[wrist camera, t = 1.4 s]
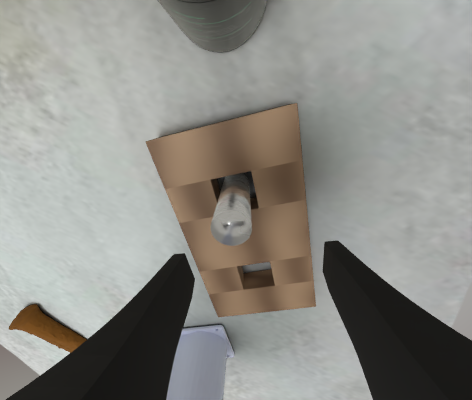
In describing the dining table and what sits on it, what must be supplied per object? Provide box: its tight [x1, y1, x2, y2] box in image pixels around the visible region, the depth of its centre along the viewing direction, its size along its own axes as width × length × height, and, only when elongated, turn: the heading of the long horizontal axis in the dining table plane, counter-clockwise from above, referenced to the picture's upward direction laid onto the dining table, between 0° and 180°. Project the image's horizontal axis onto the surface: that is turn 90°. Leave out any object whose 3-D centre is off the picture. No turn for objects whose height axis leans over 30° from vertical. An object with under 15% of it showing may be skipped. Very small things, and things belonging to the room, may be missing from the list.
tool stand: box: [146, 103, 316, 317], centre depth 20 cm, size 12×22×2 cm, turn 13°
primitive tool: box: [9, 304, 87, 353], centre depth 31 cm, size 19×6×4 cm, turn 32°
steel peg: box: [211, 173, 252, 246], centre depth 16 cm, size 3×3×8 cm
